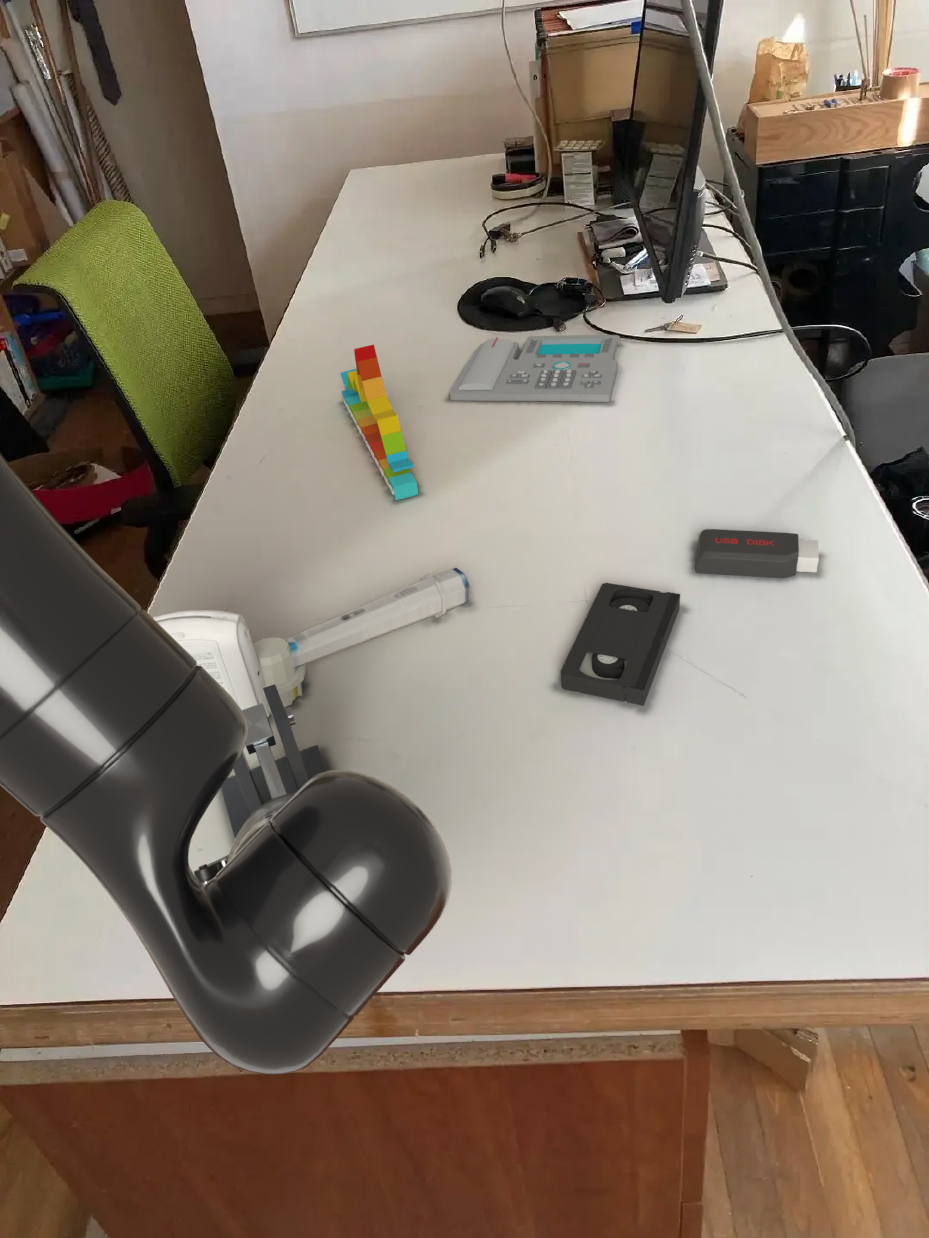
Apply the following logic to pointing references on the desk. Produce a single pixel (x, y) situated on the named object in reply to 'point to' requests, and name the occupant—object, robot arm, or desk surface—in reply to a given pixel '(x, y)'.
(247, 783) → the dark grey pivot stand
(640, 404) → the desk surface
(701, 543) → the usb drive
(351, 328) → the desk surface
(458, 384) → the office telephone
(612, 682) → the vhs tape
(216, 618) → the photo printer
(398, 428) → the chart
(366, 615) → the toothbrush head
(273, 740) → the lever with ball knob
